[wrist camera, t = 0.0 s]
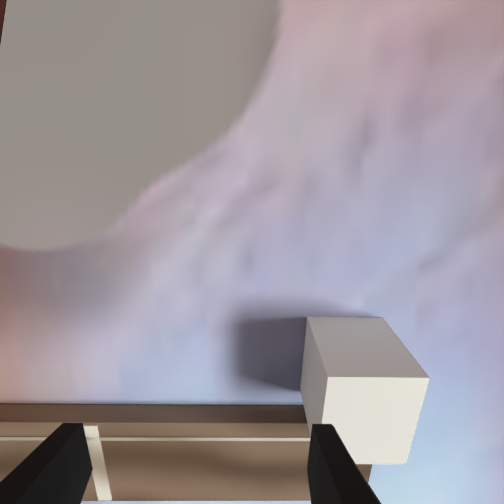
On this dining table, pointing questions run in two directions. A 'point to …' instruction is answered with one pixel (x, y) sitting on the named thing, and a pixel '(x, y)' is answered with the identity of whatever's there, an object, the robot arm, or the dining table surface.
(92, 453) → the walnut board
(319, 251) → the dining table surface
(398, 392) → the block
